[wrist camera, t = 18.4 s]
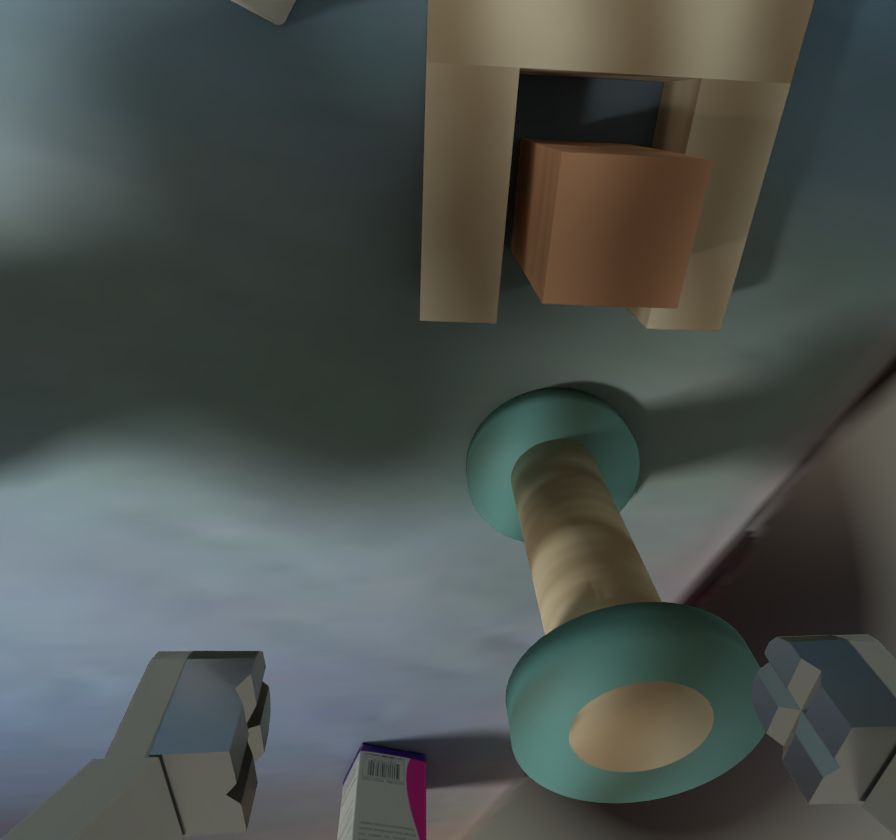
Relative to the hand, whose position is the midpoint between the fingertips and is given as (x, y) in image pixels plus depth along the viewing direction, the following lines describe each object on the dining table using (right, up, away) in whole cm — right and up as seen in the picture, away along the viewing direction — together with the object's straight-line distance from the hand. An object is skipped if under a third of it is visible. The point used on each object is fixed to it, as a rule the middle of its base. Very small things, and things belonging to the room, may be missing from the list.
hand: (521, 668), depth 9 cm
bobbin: (+5, +1, +26) cm, 26 cm away
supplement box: (-7, -26, +40) cm, 48 cm away
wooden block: (+5, +15, +19) cm, 24 cm away
